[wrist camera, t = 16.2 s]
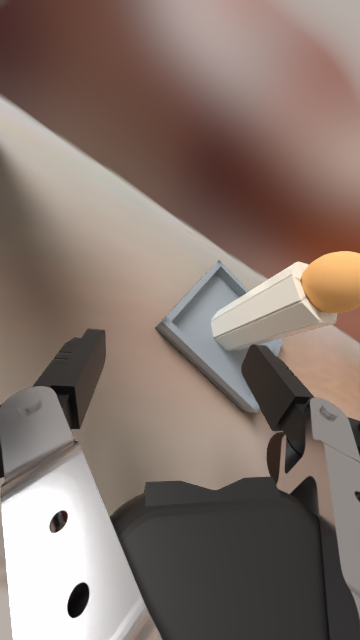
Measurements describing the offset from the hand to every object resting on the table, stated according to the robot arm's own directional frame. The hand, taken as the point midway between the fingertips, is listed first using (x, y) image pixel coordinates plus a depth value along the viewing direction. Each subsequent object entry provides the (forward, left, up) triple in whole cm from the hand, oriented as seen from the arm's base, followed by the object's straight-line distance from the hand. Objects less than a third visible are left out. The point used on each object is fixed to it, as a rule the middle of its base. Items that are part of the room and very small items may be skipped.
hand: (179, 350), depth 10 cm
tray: (+7, +13, -12) cm, 19 cm away
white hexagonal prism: (+7, +13, -11) cm, 18 cm away
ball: (+7, +13, +3) cm, 15 cm away
